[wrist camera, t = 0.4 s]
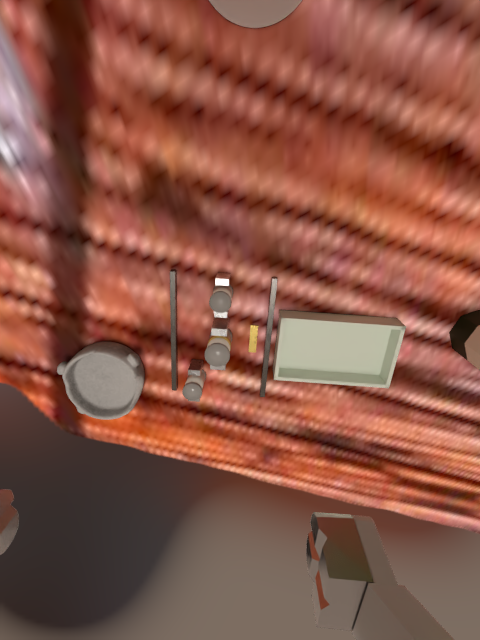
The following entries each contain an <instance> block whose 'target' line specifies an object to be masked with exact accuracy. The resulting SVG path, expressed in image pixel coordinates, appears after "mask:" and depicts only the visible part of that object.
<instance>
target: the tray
mask: <svg viewBox="0 0 480 640" xmlns="http://www.w3.org/2000/svg"><path fill="white" fill-rule="evenodd" d="M405 329H406V326H405V325H404V324H402V323H401V322H400V321H399V320H398V319H397V318H389V317H375V316H361V315H347V314H333V313H319V312H305V311H291V310H280V311H279V319H278V328H277V336H276V345H275V353H274V362H273V376H274V380H284V381H297V382H311V383H325V384H338V385H352V386H366V387H380V388H389V386H390V382H391V379H392V375H393V371H394V368H395V364H396V361H397V357H398V354H399V350H400V346H401V343H402V339H403V336H404V332H405Z"/></svg>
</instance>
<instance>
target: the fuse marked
mask: <svg viewBox="0 0 480 640" xmlns="http://www.w3.org/2000/svg"><path fill="white" fill-rule="evenodd" d="M231 341H232V333H231V331H230V330H229V329H228V332H227V337H226V336H212V335H211V333H210V339H209V342H208V345H207V349H206V351H205V359H206V361H207V362H208V363H209V364H210V365H212V366H215V367H220V366H223V365H225V364H226V363H227V362H228V361H229V358H230V348H231Z"/></svg>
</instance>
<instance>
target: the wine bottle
mask: <svg viewBox="0 0 480 640" xmlns="http://www.w3.org/2000/svg"><path fill="white" fill-rule="evenodd" d="M449 333H450V338H451V343H452V348H453V349H454V350H455V351H456V352H458V353H459V354H460V355H461V356H463V357H464V358H465V359H466V360H468V361H469V362H470V363H471V364H473V365H474V366H475V367H476V368H478V369H479V370H480V310H478V311H475V312H472V313H469V314H466V315H463V316H461V317H460V319H459V320H458V321H457V323H456V324H455V325H454V327H453V328H452V329H451V331H450V332H449Z"/></svg>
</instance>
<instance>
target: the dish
mask: <svg viewBox="0 0 480 640" xmlns="http://www.w3.org/2000/svg"><path fill="white" fill-rule="evenodd" d="M57 372H58V374H60V375H63V380H64V383H65V387H66V393H67V395H68V396H69V398H70V400H71V401H72V402H73V404H74V405H75V406H76V408H77V410H78V412H80V413H81V414H86V415H88V416H90V417H93V418H97V419H116V418H120V417H122V416H124V415H126V414H128V413H129V412H130V411H131V410H132V409H133V408H134V406H135V404H136V402H137V401H138V399H139V397H140V394H141V392H142V389H143V385H144V375H145V374H144V367H143V364H142V362H141V360H140V357H139V355H138V354H136V353H135V352H134V351H133V350H131V349H130V348H128V347H126V346H124V345H122V344H119V343H115V342H98V343H94V344H91V345H89V346H87V347H85V348H84V349H82V350H81V351H80V352H78V353H77V354H76V355H75V356H74V357H73V358H72V359H71V360H70V361H69V362H65V361H64V362H62V363H60V364H59V366H58V368H57Z"/></svg>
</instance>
